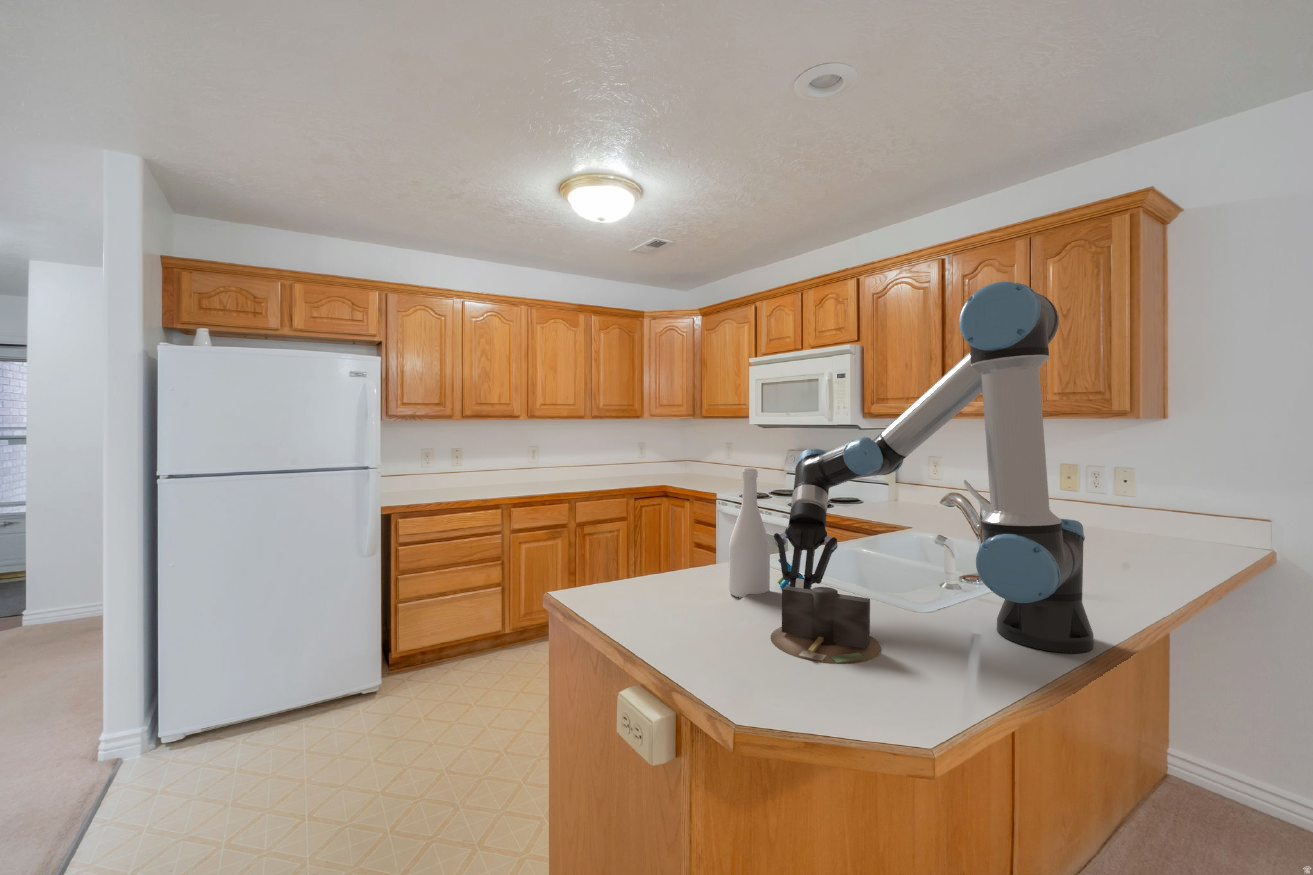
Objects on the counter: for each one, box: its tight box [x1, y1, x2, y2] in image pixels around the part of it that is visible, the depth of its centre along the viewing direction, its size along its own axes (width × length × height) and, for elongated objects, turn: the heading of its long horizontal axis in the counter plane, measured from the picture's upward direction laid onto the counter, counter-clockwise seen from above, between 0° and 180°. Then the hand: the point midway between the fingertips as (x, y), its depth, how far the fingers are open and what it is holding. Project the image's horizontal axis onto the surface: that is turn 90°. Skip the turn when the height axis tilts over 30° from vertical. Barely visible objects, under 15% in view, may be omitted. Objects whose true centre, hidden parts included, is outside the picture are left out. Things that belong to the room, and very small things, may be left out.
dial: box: [770, 626, 882, 665], centre depth 102 cm, size 19×19×2 cm
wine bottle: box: [728, 467, 771, 599], centre depth 135 cm, size 10×10×30 cm
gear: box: [777, 558, 813, 590], centre depth 140 cm, size 11×6×10 cm
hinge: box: [781, 585, 871, 654], centre depth 99 cm, size 15×11×9 cm
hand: (797, 612), depth 107 cm, fingers closed
